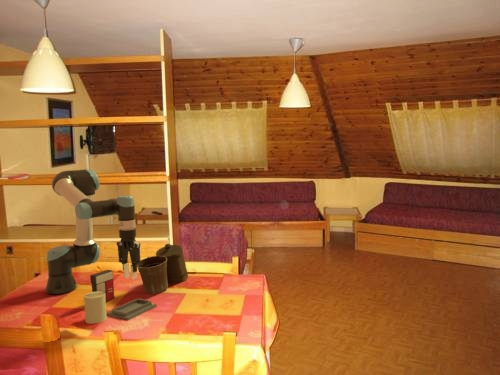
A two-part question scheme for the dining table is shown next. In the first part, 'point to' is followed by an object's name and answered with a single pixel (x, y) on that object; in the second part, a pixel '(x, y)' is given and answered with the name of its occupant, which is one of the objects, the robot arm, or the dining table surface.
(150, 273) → the plant pot
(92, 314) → the can
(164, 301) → the dining table surface
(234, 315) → the dining table surface
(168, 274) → the wooden container
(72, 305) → the dining table surface
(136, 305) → the tray
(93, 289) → the red and grey box
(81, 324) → the dining table surface
